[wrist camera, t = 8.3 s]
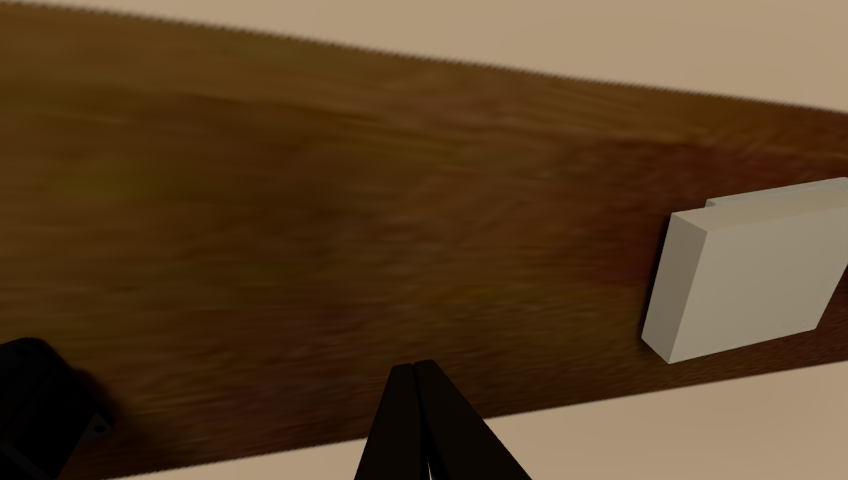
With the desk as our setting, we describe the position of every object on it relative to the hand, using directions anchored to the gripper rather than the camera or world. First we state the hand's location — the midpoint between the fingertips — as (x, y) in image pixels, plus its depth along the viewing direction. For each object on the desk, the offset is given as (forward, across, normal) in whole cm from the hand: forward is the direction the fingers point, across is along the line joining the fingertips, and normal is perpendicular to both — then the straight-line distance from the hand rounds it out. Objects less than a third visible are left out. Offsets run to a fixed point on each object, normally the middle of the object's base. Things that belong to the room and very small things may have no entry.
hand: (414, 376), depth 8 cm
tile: (+11, -16, +9) cm, 21 cm away
